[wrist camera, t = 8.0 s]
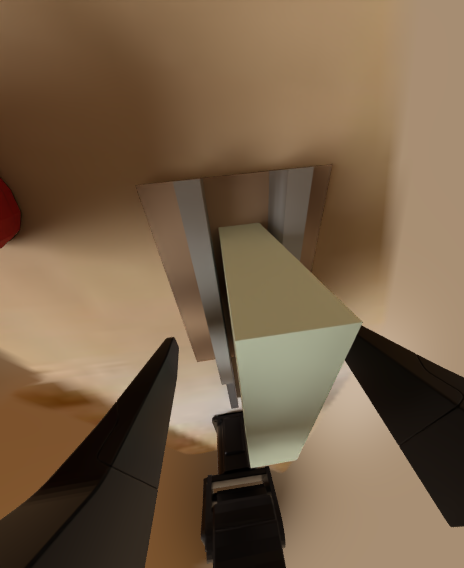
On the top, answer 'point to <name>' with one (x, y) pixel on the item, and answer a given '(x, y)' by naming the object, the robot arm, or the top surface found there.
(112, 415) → the robot arm
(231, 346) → the track plinth
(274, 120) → the top surface
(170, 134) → the top surface
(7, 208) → the plastic cup
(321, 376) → the door panel
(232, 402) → the grey upright bracket
